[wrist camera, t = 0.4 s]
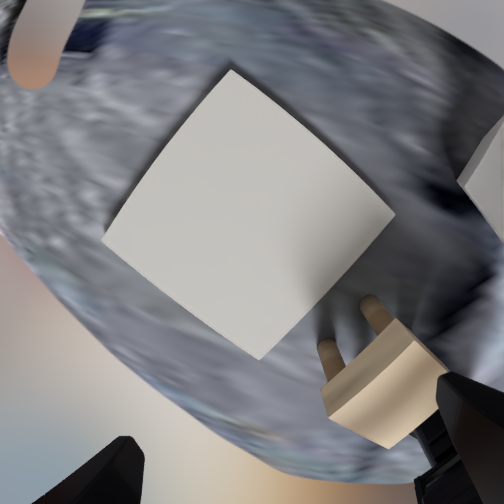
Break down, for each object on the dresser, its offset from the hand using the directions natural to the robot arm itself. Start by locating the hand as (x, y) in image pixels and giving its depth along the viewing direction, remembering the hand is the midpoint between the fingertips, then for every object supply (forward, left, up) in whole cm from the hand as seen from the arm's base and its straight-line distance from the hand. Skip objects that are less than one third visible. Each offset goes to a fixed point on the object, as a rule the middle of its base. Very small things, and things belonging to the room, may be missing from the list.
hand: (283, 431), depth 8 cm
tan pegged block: (-9, -1, -13) cm, 16 cm away
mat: (+3, -2, -13) cm, 13 cm away
